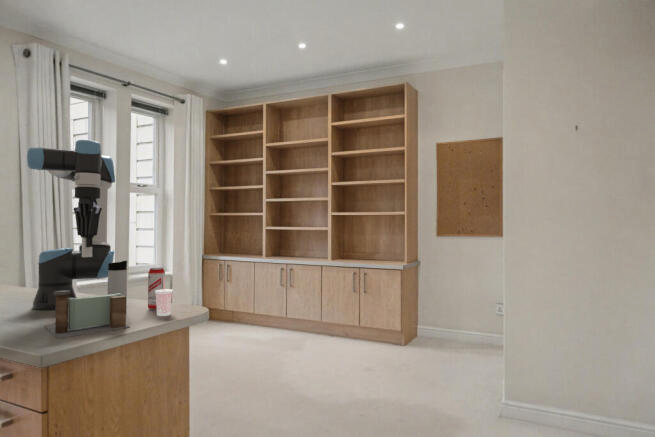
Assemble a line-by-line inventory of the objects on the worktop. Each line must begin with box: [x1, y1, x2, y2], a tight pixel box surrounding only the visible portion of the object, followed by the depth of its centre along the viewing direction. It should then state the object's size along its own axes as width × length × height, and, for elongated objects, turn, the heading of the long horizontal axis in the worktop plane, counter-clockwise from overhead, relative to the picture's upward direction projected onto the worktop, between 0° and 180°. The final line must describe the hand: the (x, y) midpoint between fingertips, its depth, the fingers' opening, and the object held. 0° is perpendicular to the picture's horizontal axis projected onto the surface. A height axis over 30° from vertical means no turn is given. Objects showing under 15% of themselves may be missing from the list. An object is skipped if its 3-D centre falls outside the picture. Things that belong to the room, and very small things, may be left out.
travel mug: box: [107, 260, 128, 314], centre depth 157 cm, size 6×7×20 cm
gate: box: [68, 293, 122, 330], centre depth 138 cm, size 3×15×9 cm, turn 133°
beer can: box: [147, 267, 166, 311], centre depth 169 cm, size 6×6×16 cm
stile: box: [110, 296, 127, 328], centre depth 139 cm, size 4×4×10 cm
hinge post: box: [53, 290, 70, 334], centre depth 131 cm, size 4×4×13 cm
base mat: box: [44, 323, 131, 339], centre depth 140 cm, size 20×20×1 cm
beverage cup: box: [155, 276, 174, 317], centre depth 159 cm, size 6×6×14 cm
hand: (86, 256), depth 144 cm, fingers closed
